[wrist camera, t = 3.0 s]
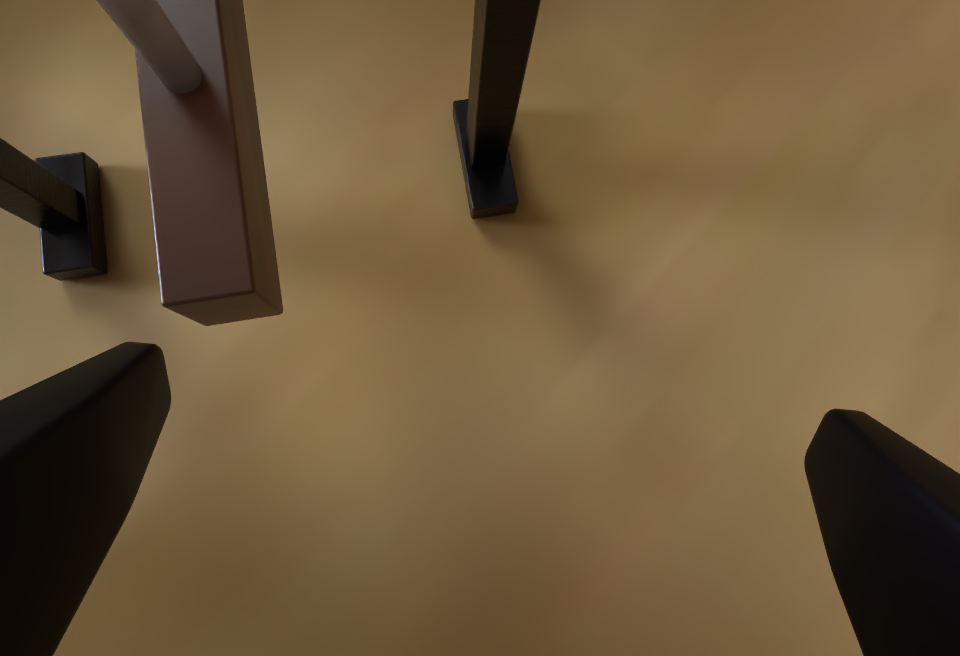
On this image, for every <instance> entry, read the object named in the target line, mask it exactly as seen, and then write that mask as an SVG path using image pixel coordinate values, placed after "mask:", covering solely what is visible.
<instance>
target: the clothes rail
mask: <svg viewBox="0 0 960 656" xmlns="http://www.w3.org/2000/svg"><path fill="white" fill-rule="evenodd" d="M540 1H541V0H475V9H474V24H473V39H472V54H471V69H470V84H469V99H466V100H459V101H454V102H453V118H454V124H455V129H456V135H457V141H458V146H459V152H460V157H461V163H462V169H463V174H464V180H465V185H466V191H467V197H468V202H469V208H470V213H471V218H472V219H475V218H481V217H488V216H495V215H501V214H508V213H515V212H516V209H517V206H518V202H519V201H518V196H517V191H516V186H515V180H514V175H513V170H512V165H511V160H510V154H509V145H510V140H511V136H512V131H513V126H514V122H515V117H516V112H517V108H518V103H519V98H520V94H521V89H522V85H523V80H524V75H525V71H526V66H527V61H528V57H529V52H530V47H531V43H532V38H533V33H534V29H535V24H536V20H537V15H538V10H539V6H540ZM0 208H2V209H4V210H6V211H8V212H10V213H12V214H14V215H16V216H18V217H20V218H22V219H23V220H25V221H27V222H29V223H31V224H33V225H35V226H37V227H39V228H40V238H41V252H42V265H43V273H44V274H45V275H47V276H50V277H52V278H55V279H57V280H60V281H62V280H69V279H75V278H82V277H89V276H95V275H102V274H106V273H107V260H106V249H105V238H104V226H103V215H102V204H101V193H100V181H99V170H98V164H97V163H96V162H95V161H94V160H93V159H91V158H90V157H89V156H88V155H86V154H85V153H83V152H79V153H72V154H65V155H57V156H50V157H43V158H36V159H35V161H33V160H32V159H31V158H29V157H28V156H26V155H25V154H23V153H22V152H20V151H19V150H17V149H16V148H14V147H13V146H11V145H10V144H8V143H7V142H5V141H4V140H2V139H1V138H0Z"/></svg>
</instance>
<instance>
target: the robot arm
mask: <svg viewBox="0 0 960 656" xmlns="http://www.w3.org/2000/svg"><path fill="white" fill-rule="evenodd" d="M170 404H171V391H170V386H169V381H168V375H167V370H166V365H165V360H164V355H163V352H162V350H161V348H160V347H159V346H157V345H156V344H148V343H138V342H125V343H122V344H120V345H118V346H116V347H114V348H112V349H109V350H107V351H105V352H103V353H101V354H99V355H97V356H94V357H92V358H90V359H88V360H86V361H84V362H82V363H79V364H77V365H75V366H73V367H71V368H69V369H67V370H64V371H62V372H60V373H58V374H56V375H54V376H52V377H49V378H47V379H45V380H43V381H41V382H39V383H37V384H34V385H32V386H30V387H28V388H26V389H24V390H22V391H20V392H17V393H15V394H13V395H11V396H9V397H7V398H5V399H2V400H0V656H53V654H54V652H55V650H56V649H57V647H58V645H59V643H60V641H61V639H62V637H63V635H64V634H65V632H66V630H67V628H68V626H69V624H70V622H71V620H72V619H73V617H74V615H75V613H76V611H77V609H78V607H79V605H80V604H81V602H82V600H83V598H84V596H85V594H86V592H87V590H88V588H89V587H90V585H91V583H92V581H93V579H94V577H95V575H96V573H97V572H98V570H99V568H100V566H101V564H102V562H103V560H104V558H105V557H106V555H107V553H108V551H109V549H110V547H111V545H112V543H113V542H114V540H115V538H116V536H117V534H118V532H119V530H120V528H121V526H122V525H123V523H124V521H125V519H126V517H127V515H128V512H129V510H130V508H131V506H132V504H133V501H134V499H135V497H136V494H137V492H138V489H139V487H140V484H141V482H142V479H143V476H144V474H145V471H146V469H147V466H148V464H149V461H150V458H151V456H152V453H153V451H154V448H155V446H156V443H157V441H158V438H159V435H160V433H161V430H162V428H163V425H164V423H165V420H166V417H167V415H168V412H169V409H170ZM804 464H805V472H806V476H807V480H808V484H809V487H810V491H811V495H812V499H813V503H814V507H815V511H816V514H817V518H818V522H819V526H820V530H821V534H822V537H823V541H824V545H825V549H826V553H827V556H828V560H829V563H830V566H831V570H832V573H833V575H834V578H835V581H836V584H837V587H838V590H839V592H840V595H841V597H842V600H843V603H844V605H845V608H846V611H847V613H848V616H849V619H850V621H851V624H852V626H853V629H854V632H855V634H856V637H857V640H858V642H859V645H860V647H861V650H862V653H863V655H864V656H960V474H959V473H958V472H956V471H954V470H953V469H951V468H950V467H948V466H947V465H945V464H944V463H942V462H940V461H939V460H937V459H936V458H934V457H933V456H931V455H930V454H928V453H926V452H925V451H923V450H922V449H920V448H919V447H917V446H916V445H914V444H912V443H911V442H909V441H908V440H906V439H905V438H903V437H902V436H900V435H898V434H897V433H895V432H894V431H892V430H891V429H889V428H888V427H886V426H884V425H883V424H881V423H880V422H878V421H877V420H875V419H874V418H872V417H870V416H869V415H867V414H866V413H864V412H861V411H855V410H844V409H832V410H830V411H828V412H827V413H826V414H825V415H824V417H823V419H822V421H821V423H820V425H819V427H818V429H817V431H816V433H815V435H814V437H813V439H812V441H811V443H810V445H809V447H808V449H807V452H806V455H805V462H804Z"/></svg>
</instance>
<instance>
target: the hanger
mask: <svg viewBox="0 0 960 656" xmlns="http://www.w3.org/2000/svg"><path fill="white" fill-rule="evenodd" d="M97 1H98V3H99V4H100V5H101V6H102V8H103V9H104V10H105V11H106V13H107V14H108V15H109V16H110V18H111V19H112V20H113V21H114V23H115V24H116V25H117V26H118V28H119V29H120V30H121V31H122V33H123V34H124V35H125V36H126V38H127V39H128V40H129V41H130V43H131V44H132V45H133V46H134V48H135V53H136V62H137V72H138V81H139V91H140V101H141V110H142V120H143V130H144V139H145V149H146V159H147V168H148V178H149V187H150V197H151V207H152V216H153V226H154V236H155V245H156V255H157V265H158V274H159V284H160V293H161V303H162V305H163V307H165V308H168V309H170V310H172V311H174V312H176V313H178V314H181V315H183V316H185V317H187V318H189V319H192V320H194V321H196V322H198V323H200V324H202V325H205V326H210V325H217V324H223V323H229V322H235V321H242V320H248V319H254V318H261V317H267V316H273V315H280V314H282V313H283V305H282V297H281V290H280V282H279V274H278V267H277V259H276V252H275V244H274V236H273V229H272V221H271V214H270V206H269V198H268V191H267V183H266V176H265V168H264V160H263V153H262V145H261V137H260V130H259V122H258V115H257V107H256V99H255V92H254V84H253V77H252V69H251V61H250V54H249V46H248V39H247V31H246V23H245V16H244V8H243V0H97Z"/></svg>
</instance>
